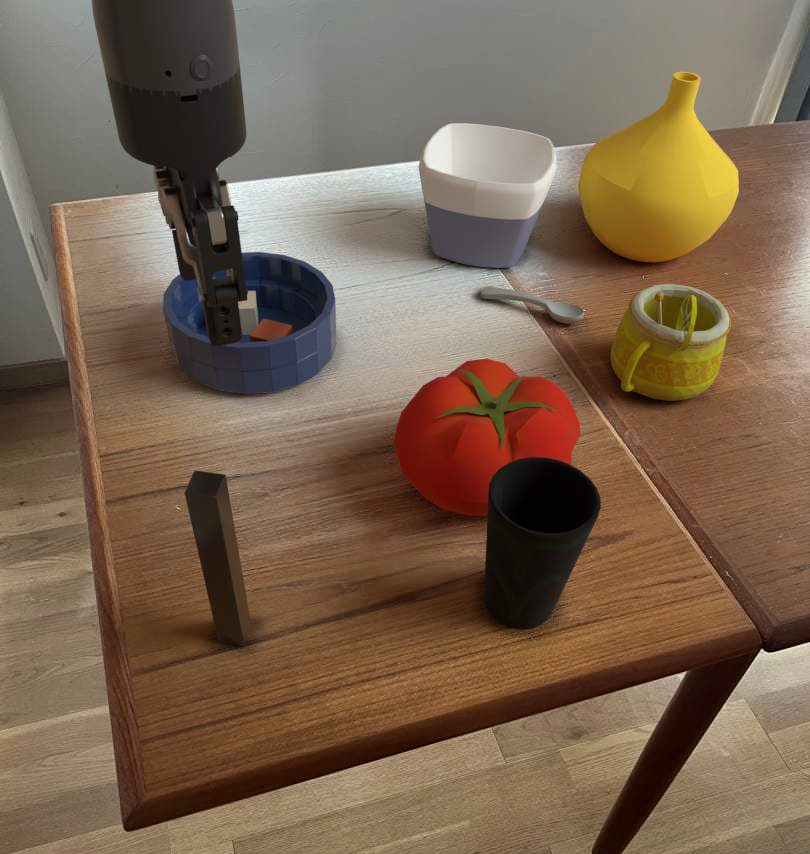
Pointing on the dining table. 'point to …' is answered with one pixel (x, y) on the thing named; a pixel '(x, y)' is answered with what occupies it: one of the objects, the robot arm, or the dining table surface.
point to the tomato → (480, 431)
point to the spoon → (538, 303)
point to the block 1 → (248, 313)
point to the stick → (219, 555)
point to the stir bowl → (276, 300)
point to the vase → (659, 182)
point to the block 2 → (270, 331)
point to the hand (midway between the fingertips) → (210, 308)
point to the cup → (534, 537)
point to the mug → (670, 342)
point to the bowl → (484, 191)
